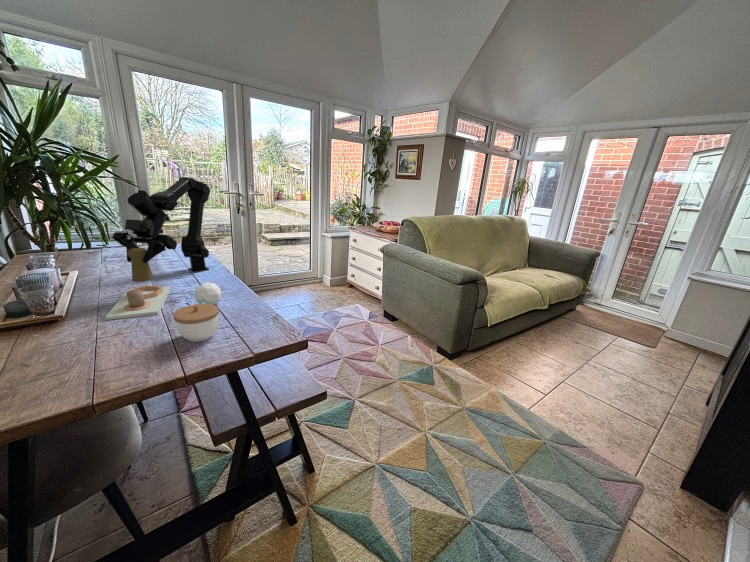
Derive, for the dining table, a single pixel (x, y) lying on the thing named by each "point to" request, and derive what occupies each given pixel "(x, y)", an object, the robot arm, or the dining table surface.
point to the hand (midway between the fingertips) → (136, 262)
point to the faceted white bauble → (207, 293)
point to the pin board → (142, 312)
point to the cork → (139, 265)
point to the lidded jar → (197, 321)
